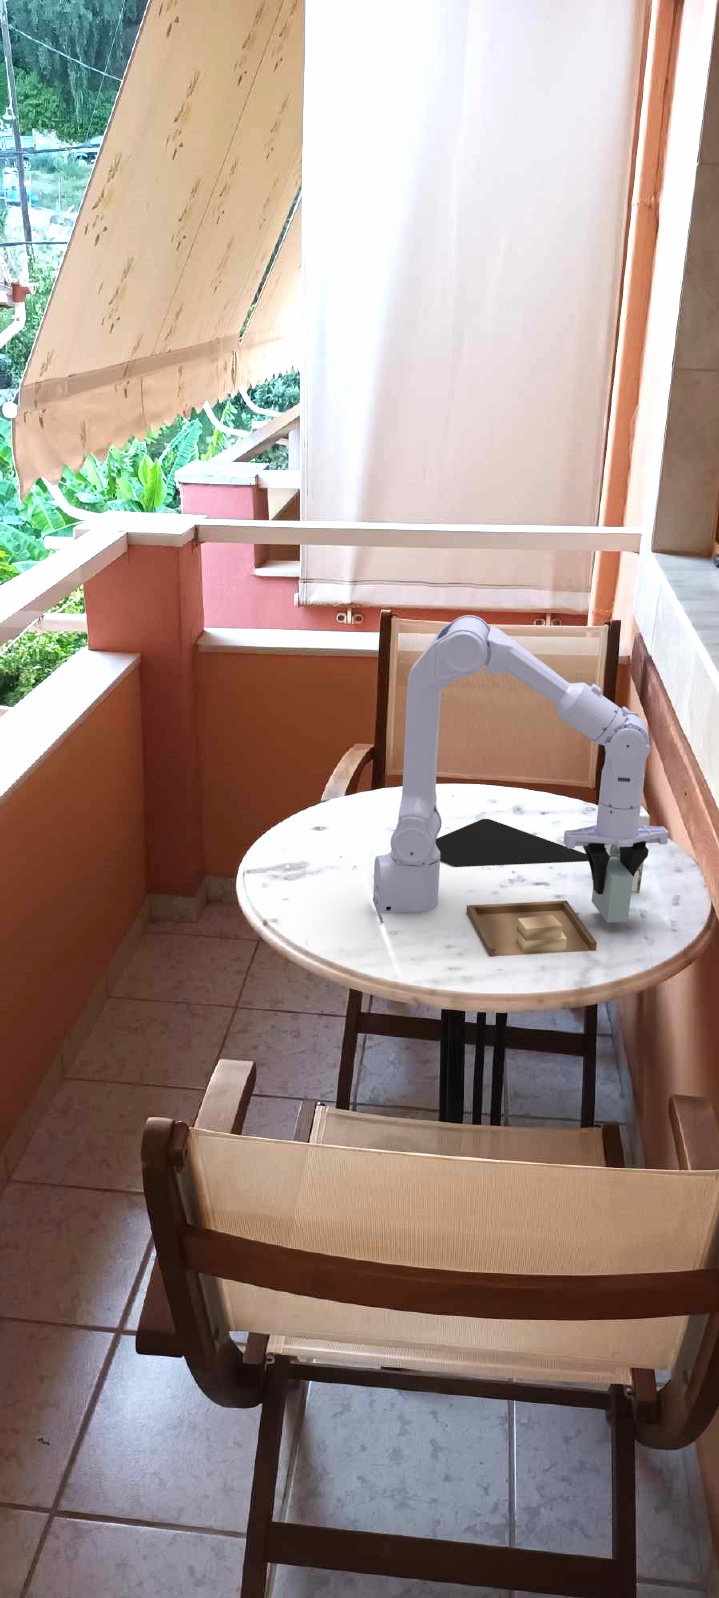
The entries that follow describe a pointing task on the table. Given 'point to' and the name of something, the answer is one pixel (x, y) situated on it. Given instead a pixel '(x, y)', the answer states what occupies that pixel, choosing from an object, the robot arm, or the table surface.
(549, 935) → the offcut upper
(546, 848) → the tablet
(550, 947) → the offcut lower
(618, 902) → the sage green tall block
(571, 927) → the brown wooden tray
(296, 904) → the table surface
